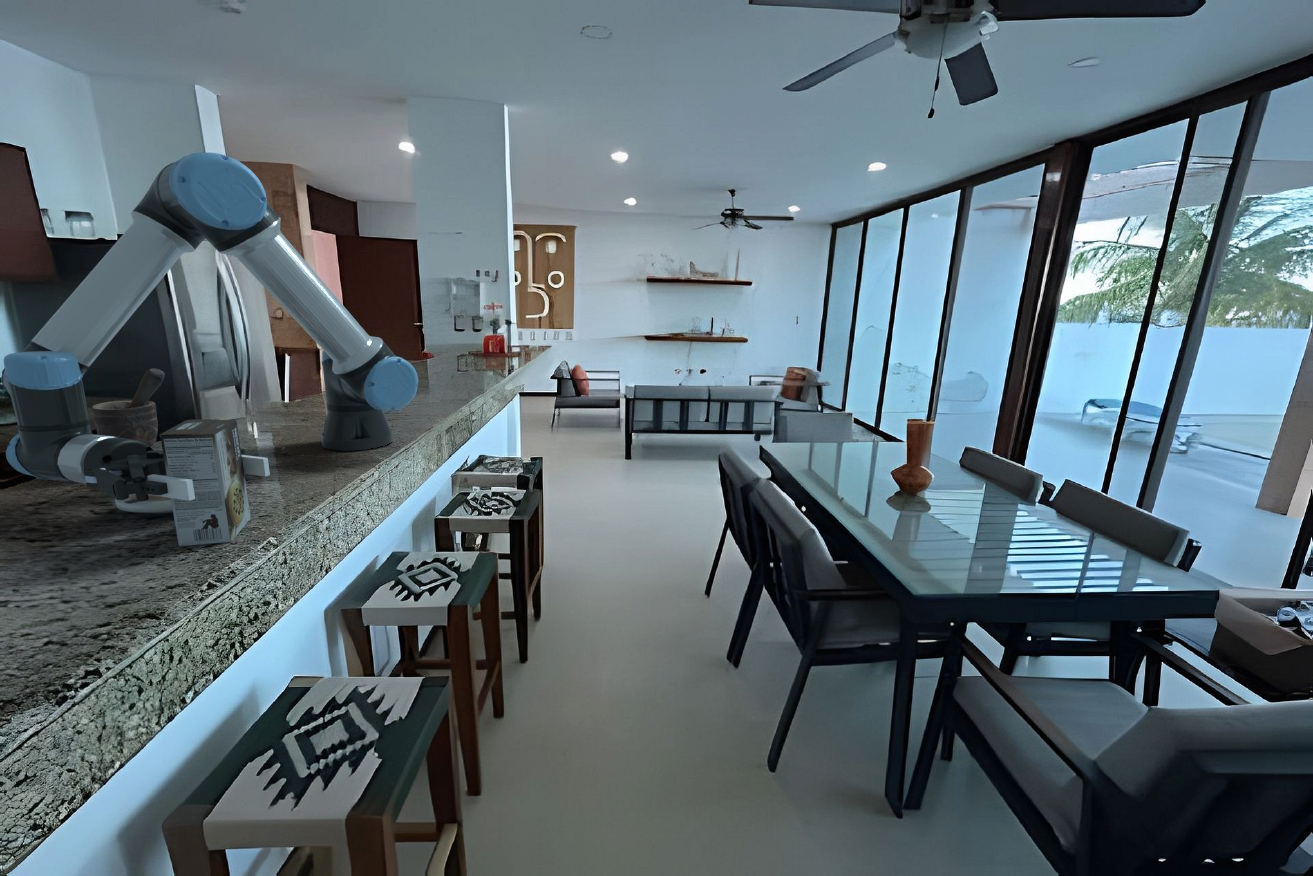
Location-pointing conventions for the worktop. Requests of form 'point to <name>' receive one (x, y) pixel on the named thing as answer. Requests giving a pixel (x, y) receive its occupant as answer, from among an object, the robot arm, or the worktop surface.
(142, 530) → the worktop surface
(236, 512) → the coffee box
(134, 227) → the robot arm
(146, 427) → the mortar and pestle
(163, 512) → the turntable base
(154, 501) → the turntable platter
